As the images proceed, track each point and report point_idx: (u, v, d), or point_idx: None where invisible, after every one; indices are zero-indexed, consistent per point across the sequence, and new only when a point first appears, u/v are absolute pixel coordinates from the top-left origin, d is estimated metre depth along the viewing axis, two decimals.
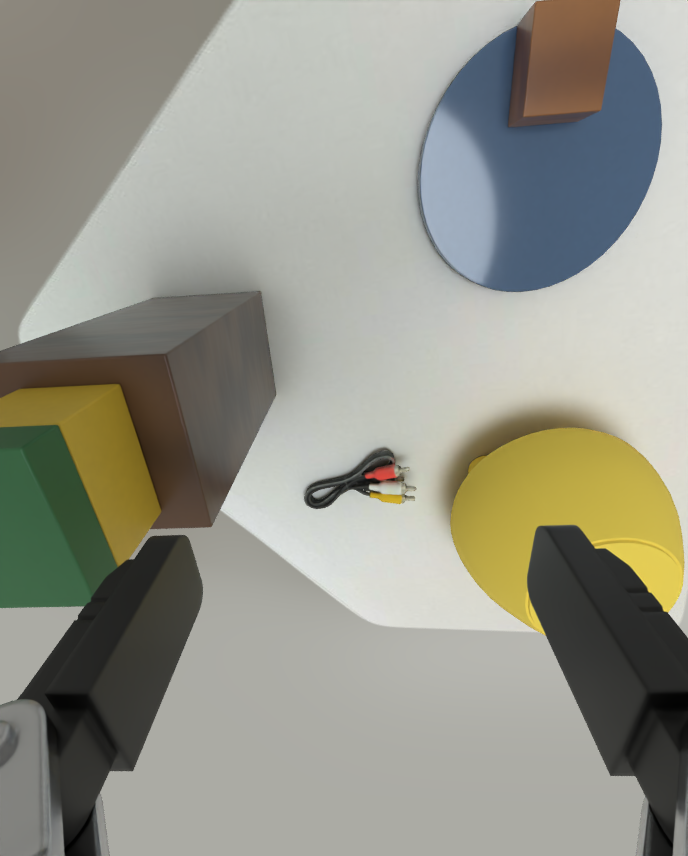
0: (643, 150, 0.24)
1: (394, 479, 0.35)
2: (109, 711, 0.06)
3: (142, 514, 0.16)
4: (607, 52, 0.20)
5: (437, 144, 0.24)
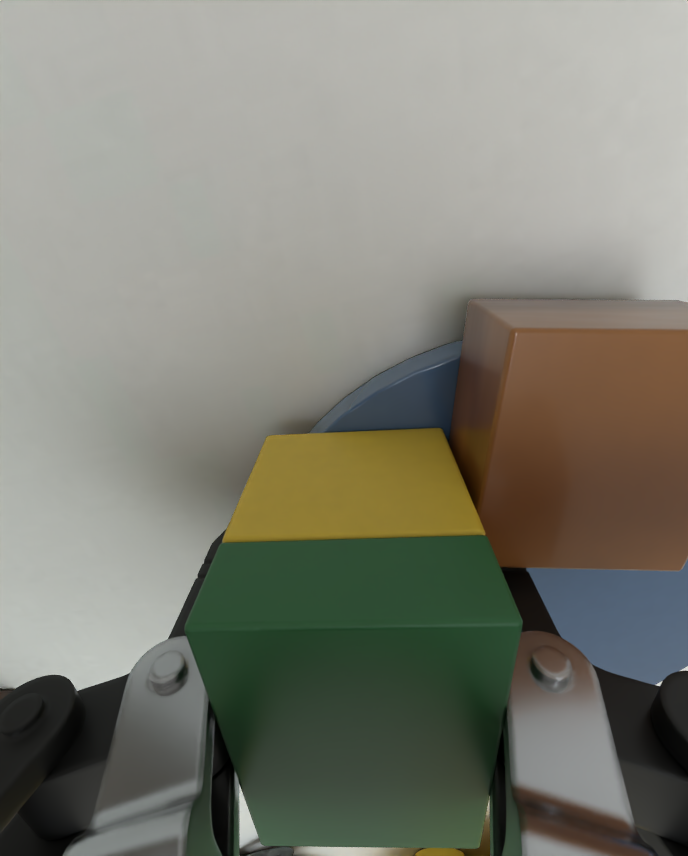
0: None
1: None
2: None
3: None
4: None
5: None
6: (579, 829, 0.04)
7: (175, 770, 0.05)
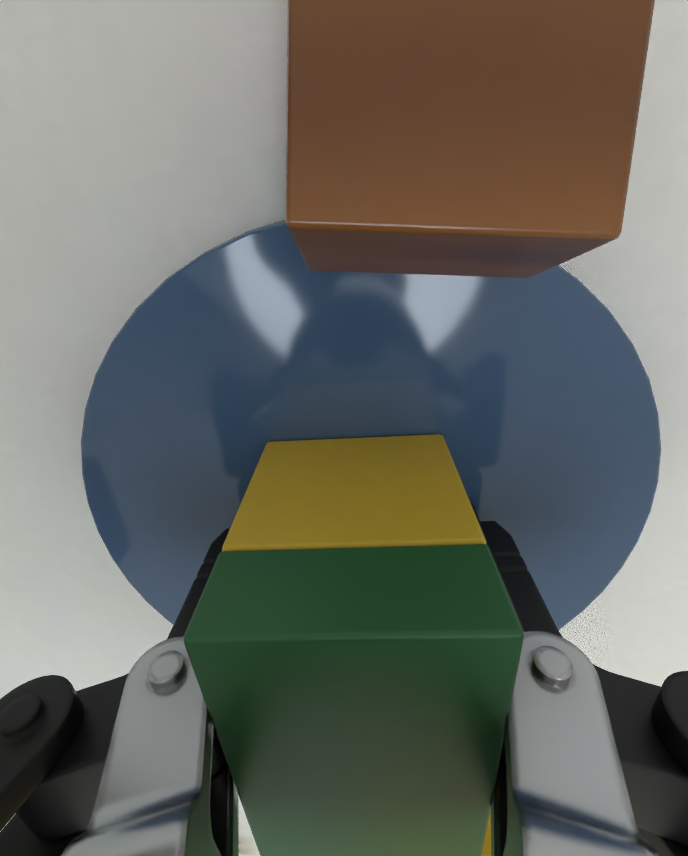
0: (616, 493, 0.10)
1: None
2: None
3: None
4: (636, 8, 0.04)
5: (113, 475, 0.10)
6: (580, 829, 0.04)
7: (174, 770, 0.05)
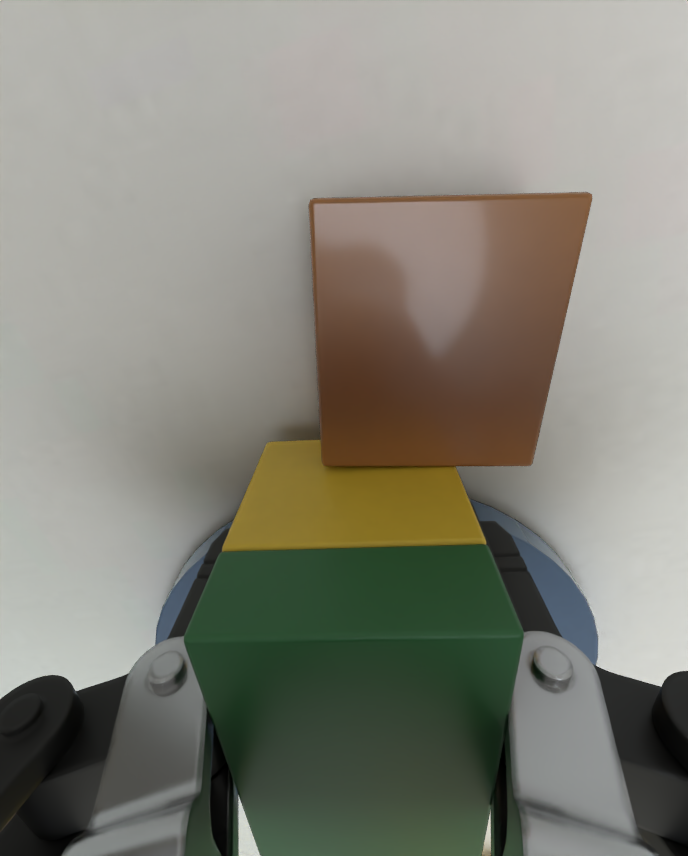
0: None
1: None
2: None
3: None
4: (547, 345, 0.07)
5: None
6: (580, 830, 0.04)
7: (174, 770, 0.05)
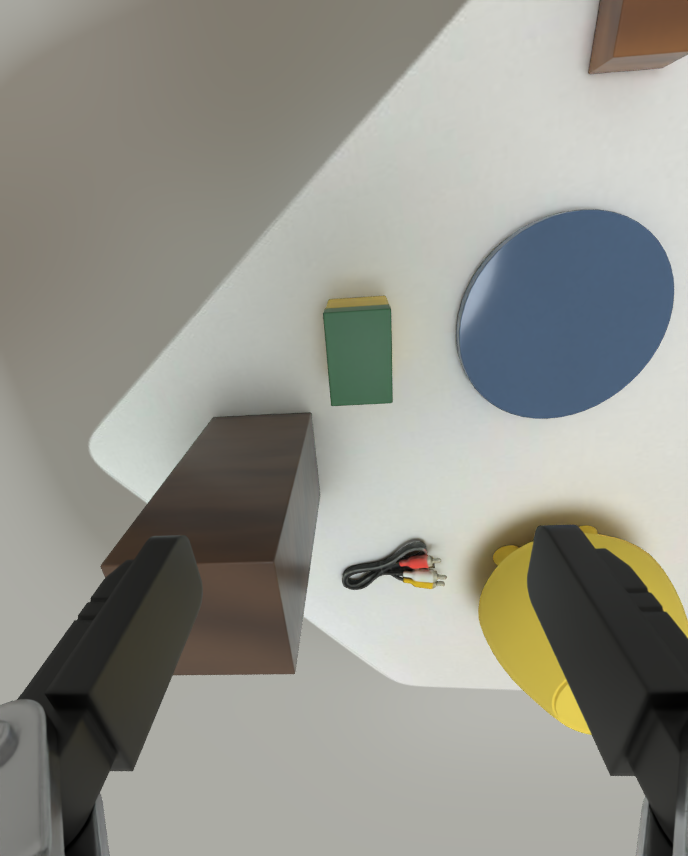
0: (658, 311, 0.27)
1: None
2: (109, 711, 0.06)
3: None
4: None
5: (476, 305, 0.27)
6: None
7: (11, 842, 0.04)
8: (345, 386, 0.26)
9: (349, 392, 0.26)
